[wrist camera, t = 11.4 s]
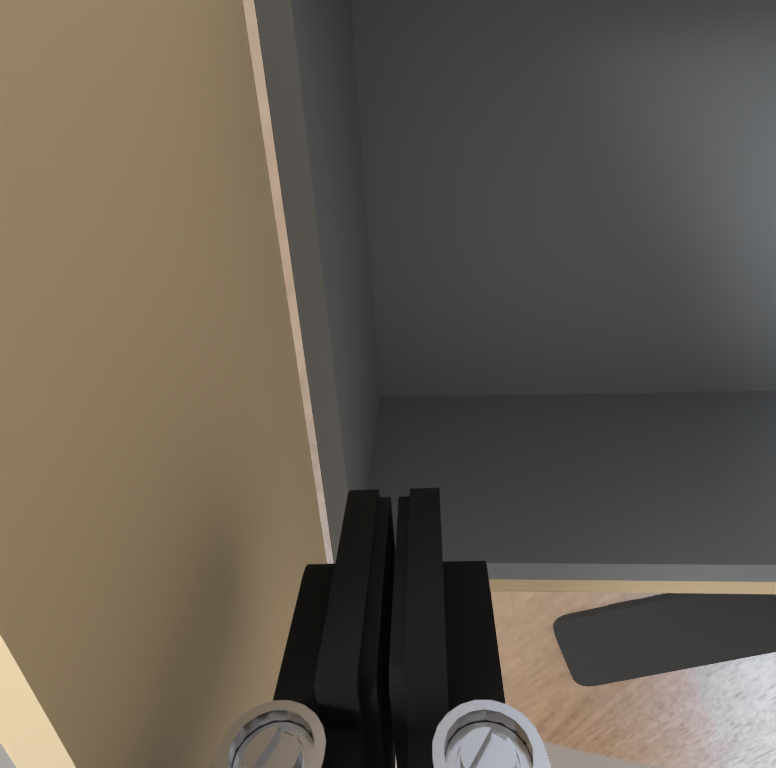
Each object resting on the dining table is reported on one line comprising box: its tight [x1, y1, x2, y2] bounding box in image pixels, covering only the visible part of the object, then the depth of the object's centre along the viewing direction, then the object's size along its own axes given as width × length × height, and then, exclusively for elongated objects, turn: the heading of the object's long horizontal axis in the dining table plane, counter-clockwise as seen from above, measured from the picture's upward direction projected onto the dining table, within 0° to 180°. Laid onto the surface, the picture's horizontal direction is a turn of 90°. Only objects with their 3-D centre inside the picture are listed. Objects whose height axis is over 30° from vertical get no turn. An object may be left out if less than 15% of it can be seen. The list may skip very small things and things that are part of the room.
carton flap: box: [0, 0, 327, 768], centre depth 12 cm, size 20×12×1 cm
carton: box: [254, 0, 776, 594], centre depth 21 cm, size 21×24×12 cm
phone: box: [553, 593, 776, 686], centre depth 40 cm, size 7×1×15 cm
